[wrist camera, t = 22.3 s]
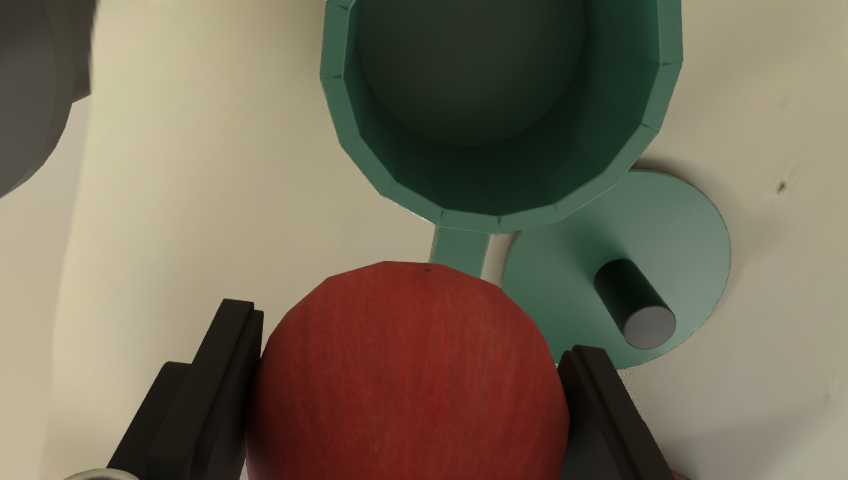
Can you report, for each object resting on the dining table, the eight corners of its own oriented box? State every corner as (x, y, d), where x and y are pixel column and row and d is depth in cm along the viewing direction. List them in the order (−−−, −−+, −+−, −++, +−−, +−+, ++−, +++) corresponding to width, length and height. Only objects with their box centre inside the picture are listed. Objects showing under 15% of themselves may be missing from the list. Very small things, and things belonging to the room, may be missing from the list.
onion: (458, 428, 16) (509, 806, 9) (251, 363, 15) (120, 741, 8) (565, 252, 14) (744, 568, 7) (333, 158, 13) (255, 425, 6)
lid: (479, 349, 42) (494, 416, 36) (530, 148, 35) (558, 188, 29) (677, 371, 43) (722, 438, 37) (758, 183, 37) (828, 227, 31)
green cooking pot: (326, 182, 36) (302, 266, 26) (366, -206, 28) (352, -288, 18) (548, 213, 37) (601, 303, 28) (648, -146, 29) (770, -192, 20)
